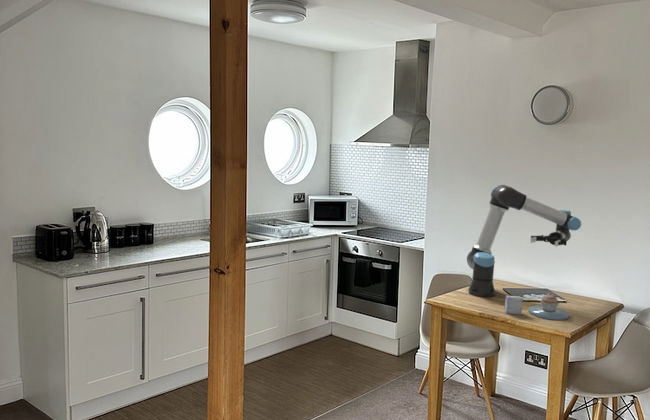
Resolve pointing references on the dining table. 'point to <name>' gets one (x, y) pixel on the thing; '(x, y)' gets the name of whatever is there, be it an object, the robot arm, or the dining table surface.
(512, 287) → the dining table surface
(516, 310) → the medicine box
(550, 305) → the cupcake
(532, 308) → the dish
